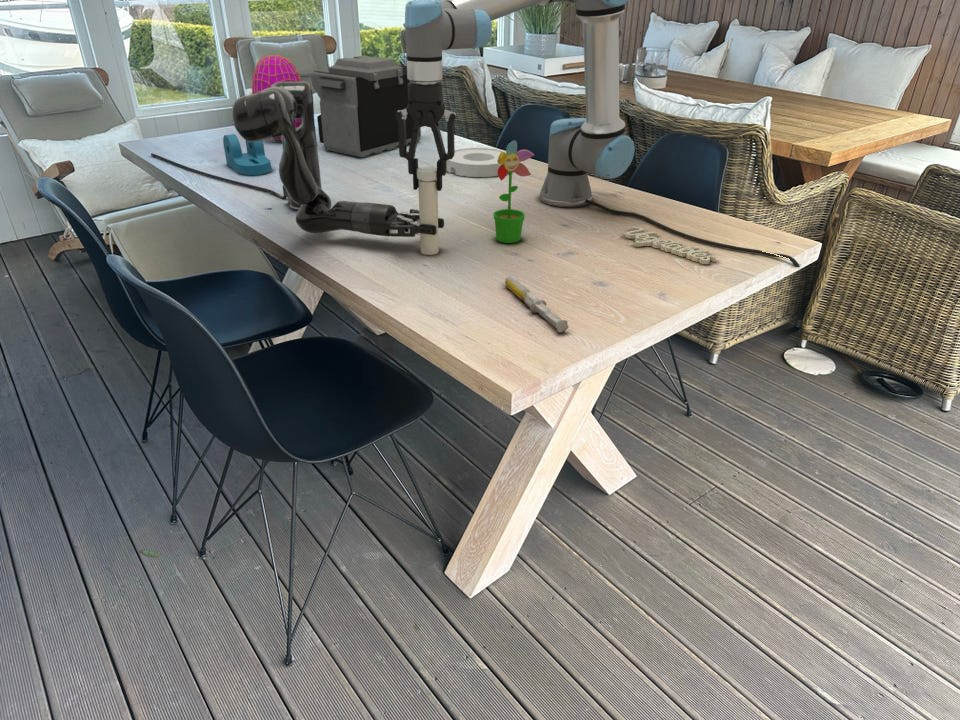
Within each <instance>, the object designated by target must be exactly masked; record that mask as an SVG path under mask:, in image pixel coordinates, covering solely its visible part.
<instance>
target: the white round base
mask: <svg viewBox="0 0 960 720" xmlns="http://www.w3.org/2000/svg"><path fill="white" fill-rule="evenodd" d="M501 152H505V153H506V150H503V149H499V148H492V147H480V146H479V147H463V148H455V155H454V157H453V158H452V159H449V160H447V172H448V173H450V174H455V175H457V176H460V177H461V176H462V177H467V178H468V177H470V178H490V177H499V176H498V168H499V167H500V166H501V165H502V164H499V163H498V162H497V160H498V157H499V155H500V153H501ZM446 153H448V151H446ZM506 154H507V153H506ZM508 174H509V171H508Z"/></svg>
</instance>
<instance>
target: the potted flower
mask: <svg viewBox="0 0 960 720" xmlns="http://www.w3.org/2000/svg"><path fill="white" fill-rule="evenodd" d="M505 151H506V153H507V154H506V153H505V152H501V153H500V155H499V157H498V160H497V162H498V163H499V164H502V165H501V166H500V167H499V168H498V176H497V177H498V178H499V180H500V181H501V182H502V181H503V180H504V179H505V178H506V177H507V175H508V193H502V194H501V195H499V196H498V199H500V201H502V202H507V208H503V209H499V210H496V211H494V212H493V220H494V227H495V228H494V229H495V238H496V241H498V242H500V243H504V244H515V243H518V242H520V240H521V237H522V232H523V225H524V221H525V217H526V214H525V212H523V211H521V210H518V209H512V208H511V207H512V193H514V192H516V191H517V189H518V188H519V186H518V185H512V184H513V183H512V181H513V177H512V176H513V172H514V173H515V174H516V175H517V176H519V177H529V176H531V175H532V174H531V172H530V170H529V168H528V167H527V166H526V165H525V164H524V163H522V162H525V161H527V160H529V159H531V158H532V157H534V156H535V154H534V152H532V151H531V150H528V149H520V150H518V142H517V140H516V139H514V140H512V141H511V142H509V143H508V144H507V146H506V147H505ZM508 171H509V173H508Z"/></svg>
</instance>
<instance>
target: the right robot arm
mask: <svg viewBox="0 0 960 720" xmlns="http://www.w3.org/2000/svg"><path fill="white" fill-rule="evenodd" d="M628 1H629V0H444V1H441V2H440V1H439V0H409V1H407V2H406V4H405V8H404V9H405V11H404V30H405V31H404V32H405V47H406V48H405V51H406V66H407V79H408V80H410V82H409V84H408V105H407V108H406V109H404V110H398V111H397V112H396V113H395V116H396V119H397V122H398V133H399V146H398V153H399V154H398V155H399V157H400V158H403V159H406V160H407V169H408V170H407V171H408V174H409V175H412V184H413V185H412V190H413V191H417V190H418V179H417V168H419V158H418V157H417V158H415V157H416V151H417V147H418V142H419V141H418V138H419V133H420V129H421V130H422V128H423V127H427V128H430V130H431V132H432V135H433V139H434V142H435V143H434V144H435V147H436V150H437V154H438V158H439V159H437V161H436V168H437V191H438V192H441V191H442V189H443V176H446V174H447V172H448V171H447V160H449V159H452V158H453V157H454V155H455V150H456V148H455V121H456V118H457V115H458V114H457V112H456V111H450V110H447V109H446V107H445V105H444V89H443V83H442V80H443V51H448V50H464V49H465V50H466V49H472V50H475V49H477V48H478V49H479V48H483V47H486V46H487V45H488V44H489V42H490V41H491V38H492V35H493V34H492V33H493V31H492V30H493V29H492V28H493V23H492V21H495V20H498V19H501V18H503V17H505V16H508V15H510V14H513V13H516V12H518V11H521V10H523V9H526V8H528V7H531V6H533V5H538V6H545V5H549V4H552V3H561V2H565V3H575V15H576V17H577V18H578V19H579V20H580V21H581V23H582V37H583V38H582V40H583V41H582V42H583V64H584V65H583V66H584V67H583V68H584V92H585V117H573V118H571V117H570V118H562V119H556V120H554V121H553V122H552V123H551V125H550V129H549V130H550V131H549V134H548V137H549V138H548V156H547V158H548V159H547V173H546V176H545V178H544V181H543V184H542V187H541V189H540V192H539V200H540V202H542V203H543V204H546V205H549V206H553V207H558V208H559V207H560V208H580V207H584V206H588V205H592V206H595V207H597V208H599V209H602V210H603V211H606V212H609V213H612V214H617V215H623V216H630V217H635V218H637V219H642V220H644V221H646V222H649V223H651V224H652V225H654V226H656V227H658V228H661V229H663V230H665V231H667V232H669V233H672V234H675V235H678V236H680V237H683V238H686V239H689V240H691V241H695V242H699V243H702V244H706V245H709V246H714V247H718V248H719V247H720V248H724V249H729V250H734V251H739V252H745V253H752V254H758V255H762V256H767V257H771V258H780V259H786V258H789V259H790V260H789V262H791V263H792V264H793V265H794V267H795V268H800V267H801V266H800V264H799V262H798V261H797V260H796V259H795V258H794V257H792V256H791V255H788V254H784V253H777V252H776V253H775V252H773V253H774V254H777V255H780V256H783V257H786V258H783V257H779V256H776V255H774V254H770V253H771V252H770V253H766V252H767V251H766V252H762V251H763V250H761V249H755V248H747V247H741V246H736V245H730V244H726V243H721V242H716V241H712V240H708V239H704V238H700V237H697V236H693V235H691V234H687V233H685V232H682V231H679V230H677V229H674V228H672V227H669V226H667V225H665V224H662V223H660V222H658V221H655V220H654V219H651V218H650V217H648V216H645V215H643V214H640V213H636V212H630V211H623V210H616V209H612V208H609V207H607V206H605V205H603V204H600V203H597V202H595V201H592V199H593V193H592V188H591V184H590V179H589V174H592V175H595V176H597V177H598V178H605V179H610V180H611V179H617V178H618V177H620V176H622V175H623V174H624V173H625V172H626V171H627V170H628V168H629V167H630V166H631V163H632V162H633V159H634V156H635V150H636V149H635V148H636V147H635V143H634V141H633V139H632V138H631V137H630V136H628V135H626V122H625V121H624V120H623V119H622V118H621V117H620V33H619V31H620V30H619V29H620V28H619V25H620V24H619V23H620V22H619V20H620V19H619V18H620V17H621V16H622V15H623V13H625V11H626V3H627V2H628ZM407 114H409V116H410V117H411V119H412V120H413V121H414V126H413V132H412V137H411V142H410V143H409V146H408V147H407V145H408V144H407V143H406V121H405V119H406V118H407ZM443 116H444V118H445V119H444V120H445V122H447V123H446V134H447V135H446V138H447V139H446V141H447V144H446V145H447V151H446V148H445V144H444V140H443V137H442V133H441V127H440V126H441V125H440V123H439V122H440V120H441V119H442V117H443ZM447 152H448V153H447ZM786 260H787V259H786Z"/></svg>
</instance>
